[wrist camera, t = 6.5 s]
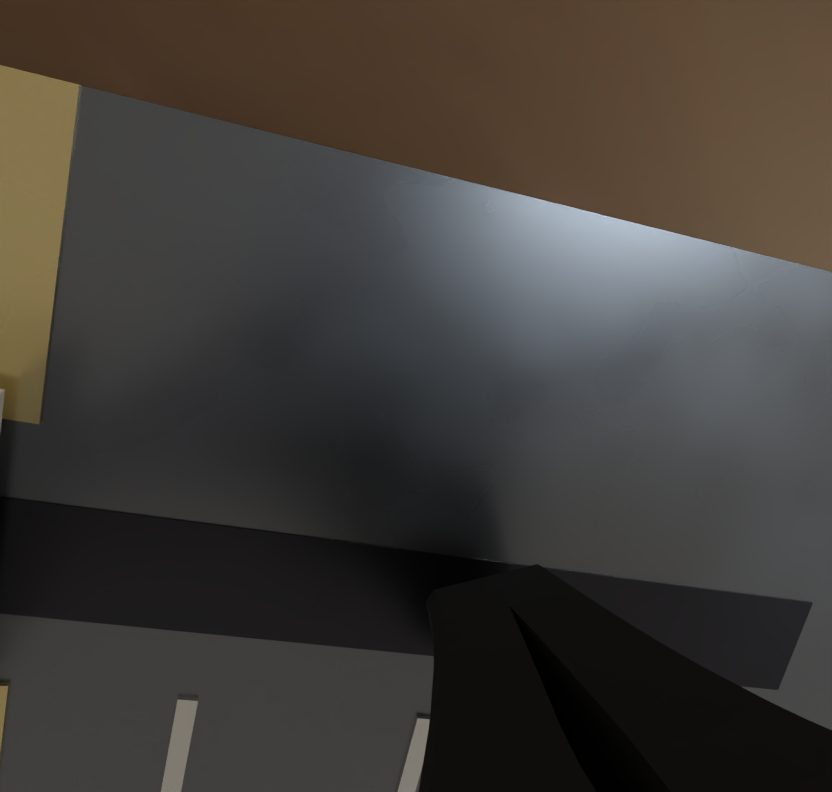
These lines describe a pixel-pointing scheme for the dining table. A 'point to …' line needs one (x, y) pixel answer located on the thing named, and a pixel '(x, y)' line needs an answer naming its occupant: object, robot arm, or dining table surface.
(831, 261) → the dining table surface
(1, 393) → the fader
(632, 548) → the console
